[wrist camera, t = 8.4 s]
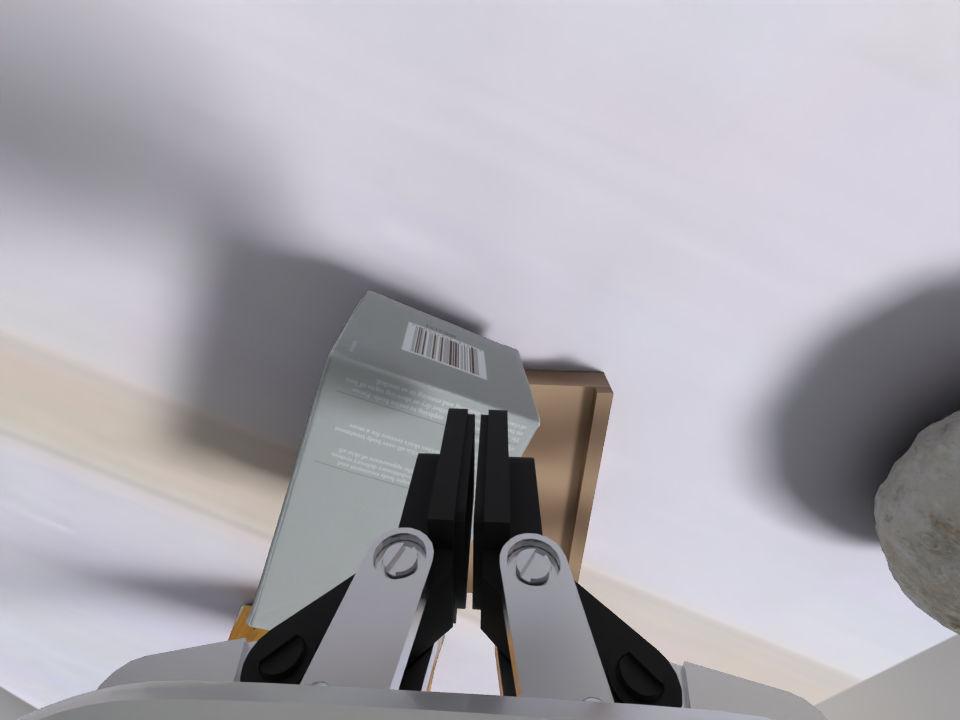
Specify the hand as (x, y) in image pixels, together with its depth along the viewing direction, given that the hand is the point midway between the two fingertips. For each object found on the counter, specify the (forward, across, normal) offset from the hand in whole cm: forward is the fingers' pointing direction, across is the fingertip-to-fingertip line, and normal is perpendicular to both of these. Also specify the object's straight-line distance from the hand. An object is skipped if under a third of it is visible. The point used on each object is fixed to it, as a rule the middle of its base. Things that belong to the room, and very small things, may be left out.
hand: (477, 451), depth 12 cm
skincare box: (+6, +1, 0) cm, 6 cm away
